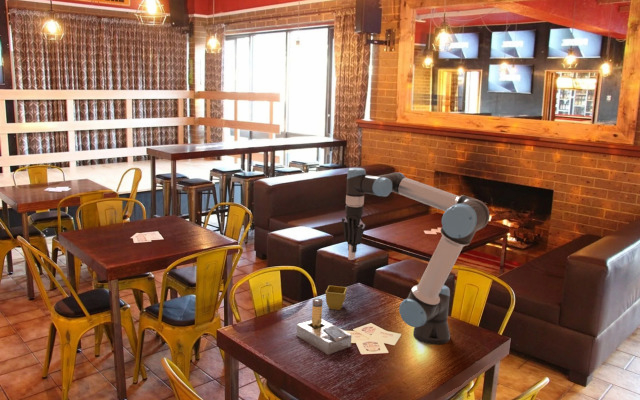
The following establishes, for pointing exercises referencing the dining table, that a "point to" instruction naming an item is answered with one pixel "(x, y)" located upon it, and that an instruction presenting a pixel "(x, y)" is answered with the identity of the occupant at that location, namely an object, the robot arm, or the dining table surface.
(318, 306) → the lynch pin
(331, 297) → the flower pot
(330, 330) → the ring flap
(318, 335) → the block
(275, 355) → the dining table surface
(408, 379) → the dining table surface
